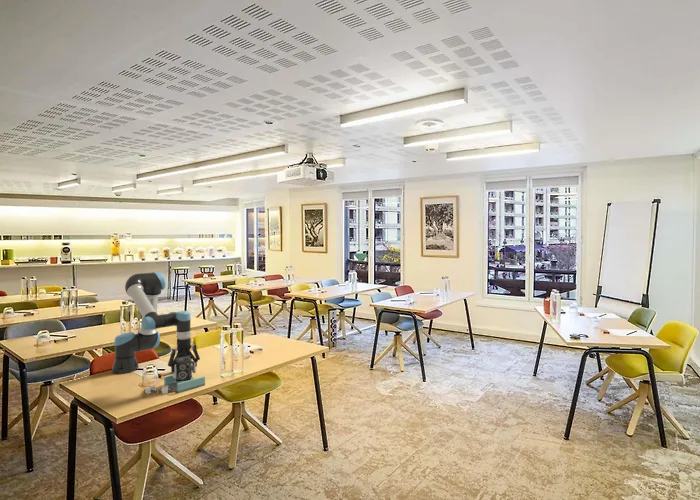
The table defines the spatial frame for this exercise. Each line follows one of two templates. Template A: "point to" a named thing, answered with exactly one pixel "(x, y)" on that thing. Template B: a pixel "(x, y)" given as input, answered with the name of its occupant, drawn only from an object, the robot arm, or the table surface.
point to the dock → (183, 383)
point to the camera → (184, 367)
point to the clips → (148, 390)
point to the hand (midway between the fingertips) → (184, 375)
